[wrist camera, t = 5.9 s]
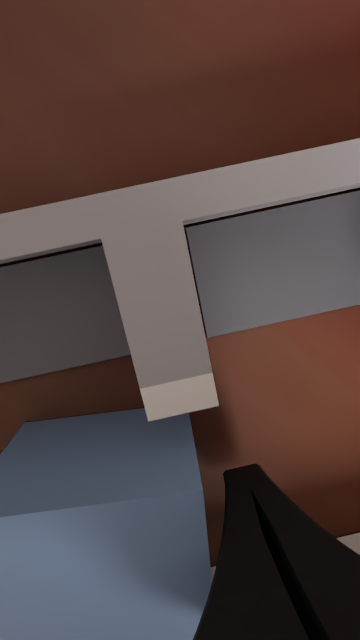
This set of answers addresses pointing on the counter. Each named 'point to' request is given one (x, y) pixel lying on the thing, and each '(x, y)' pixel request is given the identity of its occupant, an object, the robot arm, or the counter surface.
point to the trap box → (179, 271)
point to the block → (102, 530)
